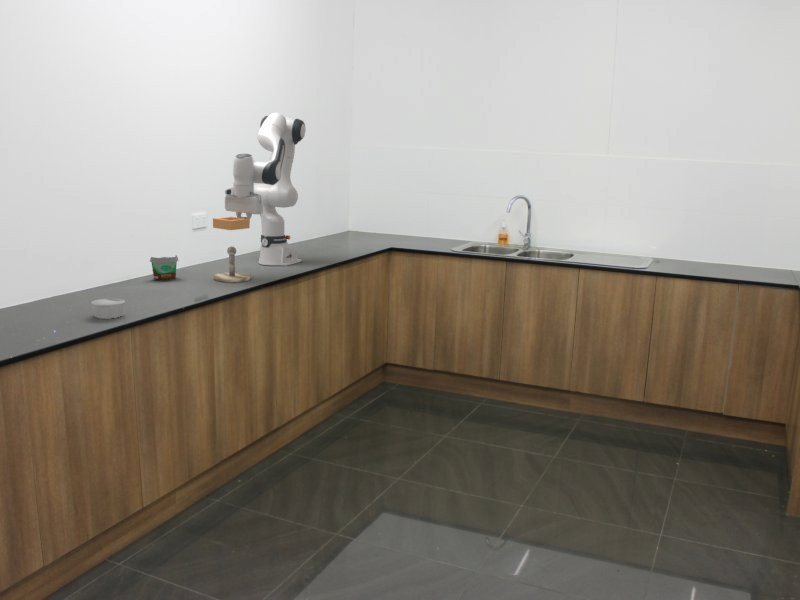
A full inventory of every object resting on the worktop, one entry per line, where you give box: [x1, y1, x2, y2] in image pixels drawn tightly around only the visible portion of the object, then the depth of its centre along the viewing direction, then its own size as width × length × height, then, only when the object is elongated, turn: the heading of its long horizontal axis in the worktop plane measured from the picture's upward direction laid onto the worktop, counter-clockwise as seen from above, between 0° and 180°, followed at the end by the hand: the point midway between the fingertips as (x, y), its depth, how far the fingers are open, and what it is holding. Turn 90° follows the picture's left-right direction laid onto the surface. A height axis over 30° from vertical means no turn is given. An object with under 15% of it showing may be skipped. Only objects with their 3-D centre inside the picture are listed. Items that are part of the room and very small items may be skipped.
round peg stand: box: [213, 245, 252, 284], centre depth 342 cm, size 16×16×14 cm
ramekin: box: [90, 298, 126, 320], centre depth 271 cm, size 11×11×5 cm
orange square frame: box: [212, 216, 251, 231], centre depth 340 cm, size 15×11×4 cm
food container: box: [149, 254, 179, 282], centre depth 337 cm, size 12×6×10 cm, turn 129°
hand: (243, 223), depth 345 cm, fingers closed on orange square frame, 3 cm apart
